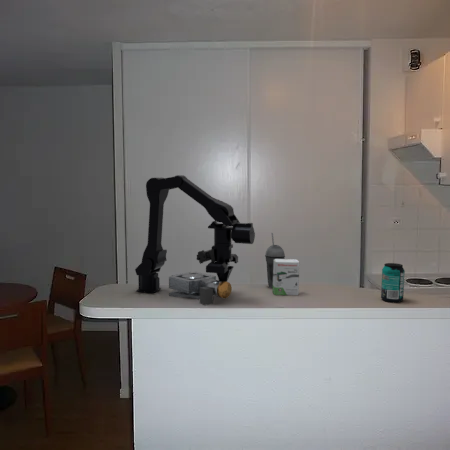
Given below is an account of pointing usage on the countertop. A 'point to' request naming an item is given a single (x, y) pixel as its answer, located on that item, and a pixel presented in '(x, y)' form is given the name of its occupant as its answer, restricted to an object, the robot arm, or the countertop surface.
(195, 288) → the flanged pipe fitting
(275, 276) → the ink box
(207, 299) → the block
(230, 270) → the robot arm
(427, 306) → the countertop surface
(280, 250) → the beverage cup
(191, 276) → the duct stub
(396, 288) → the beverage can
